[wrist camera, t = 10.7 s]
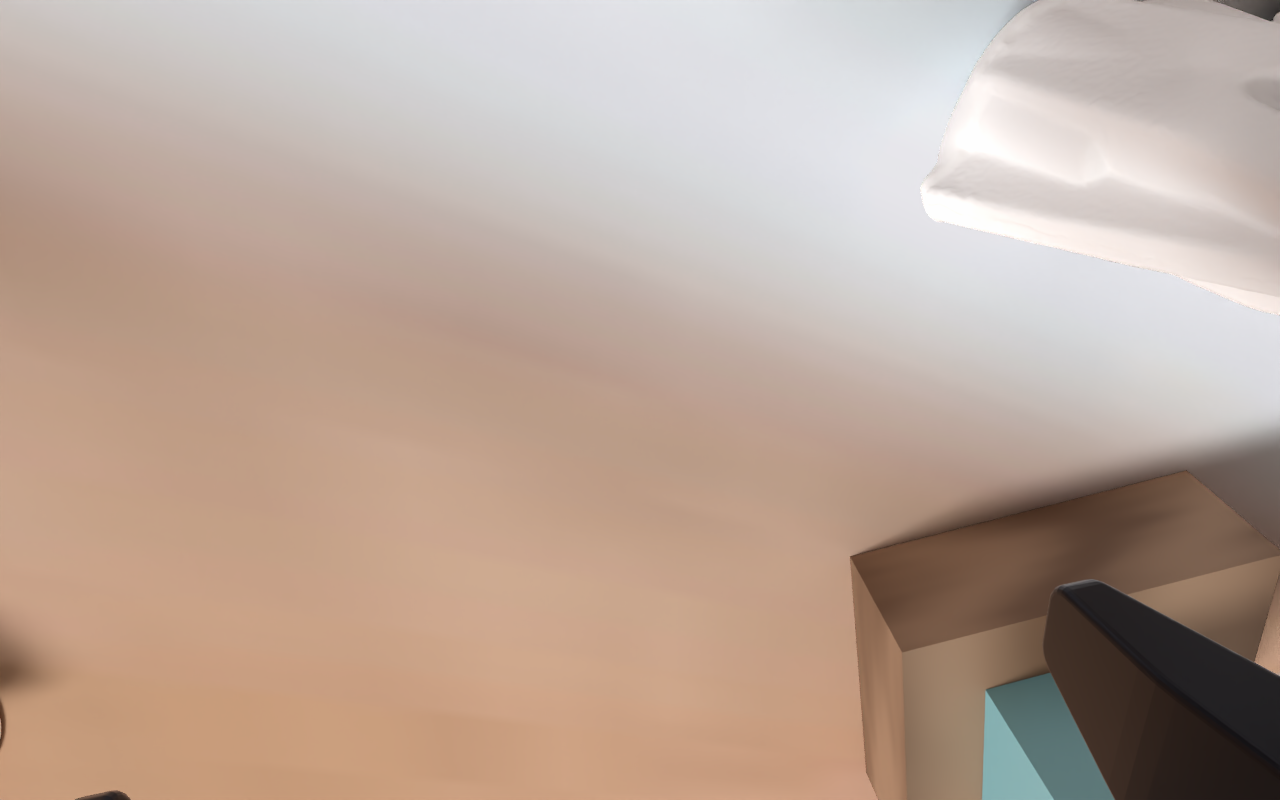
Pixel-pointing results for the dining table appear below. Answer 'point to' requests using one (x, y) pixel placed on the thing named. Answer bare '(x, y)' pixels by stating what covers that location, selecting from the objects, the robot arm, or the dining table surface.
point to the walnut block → (1031, 613)
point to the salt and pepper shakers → (1126, 140)
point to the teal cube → (1036, 746)
